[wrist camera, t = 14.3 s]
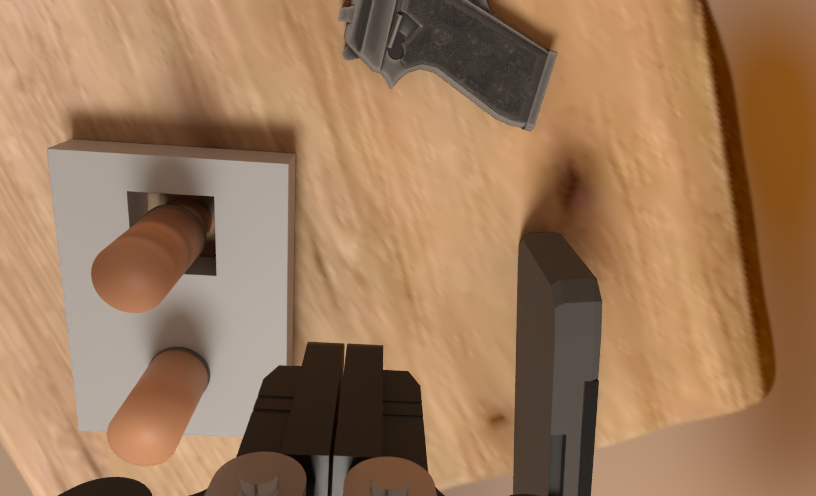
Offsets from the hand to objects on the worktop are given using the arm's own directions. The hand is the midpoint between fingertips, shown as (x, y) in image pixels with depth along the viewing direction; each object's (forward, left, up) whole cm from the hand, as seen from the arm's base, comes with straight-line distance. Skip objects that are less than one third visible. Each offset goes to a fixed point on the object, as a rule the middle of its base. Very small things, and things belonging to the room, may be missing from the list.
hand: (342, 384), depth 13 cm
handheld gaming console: (+16, +12, -27) cm, 34 cm away
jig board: (+10, -11, -27) cm, 31 cm away
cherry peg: (+6, -11, -27) cm, 30 cm away
